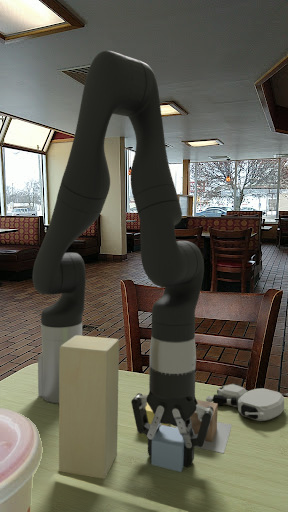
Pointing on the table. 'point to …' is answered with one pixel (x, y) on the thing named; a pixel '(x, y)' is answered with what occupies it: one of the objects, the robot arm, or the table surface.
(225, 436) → the base plate
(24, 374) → the table surface
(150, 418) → the yellow cube
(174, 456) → the brick blue
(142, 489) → the table surface
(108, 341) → the cream tall block
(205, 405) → the brick walnut
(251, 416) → the robot toy
